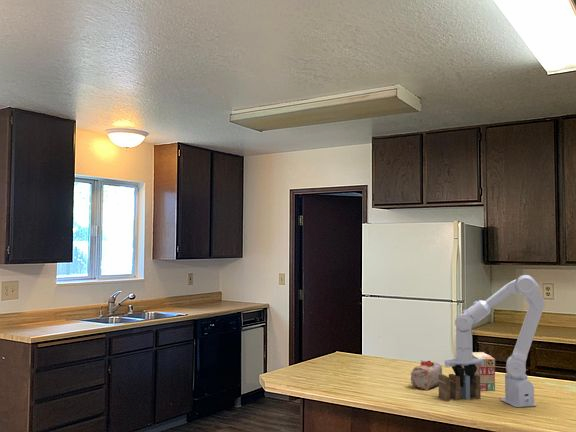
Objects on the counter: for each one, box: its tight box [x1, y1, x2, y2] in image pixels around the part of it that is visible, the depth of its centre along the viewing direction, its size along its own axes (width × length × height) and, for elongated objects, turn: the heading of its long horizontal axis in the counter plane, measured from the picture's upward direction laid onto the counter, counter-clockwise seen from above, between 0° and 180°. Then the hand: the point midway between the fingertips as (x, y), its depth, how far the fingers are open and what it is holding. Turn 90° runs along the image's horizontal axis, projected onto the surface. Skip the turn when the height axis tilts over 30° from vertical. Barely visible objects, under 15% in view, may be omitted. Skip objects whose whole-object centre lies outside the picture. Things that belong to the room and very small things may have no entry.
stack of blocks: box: [462, 351, 496, 392], centre depth 225 cm, size 21×6×12 cm, turn 1°
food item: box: [410, 359, 443, 391], centre depth 221 cm, size 14×8×10 cm, turn 140°
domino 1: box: [438, 373, 451, 402], centre depth 203 cm, size 2×5×8 cm, turn 14°
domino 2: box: [448, 373, 461, 401], centre depth 204 cm, size 2×5×8 cm, turn 14°
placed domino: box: [460, 374, 471, 400], centre depth 205 cm, size 2×5×8 cm, turn 14°
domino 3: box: [470, 374, 482, 400], centre depth 206 cm, size 2×5×8 cm, turn 13°
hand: (464, 386), depth 205 cm, fingers open, 2 cm apart
